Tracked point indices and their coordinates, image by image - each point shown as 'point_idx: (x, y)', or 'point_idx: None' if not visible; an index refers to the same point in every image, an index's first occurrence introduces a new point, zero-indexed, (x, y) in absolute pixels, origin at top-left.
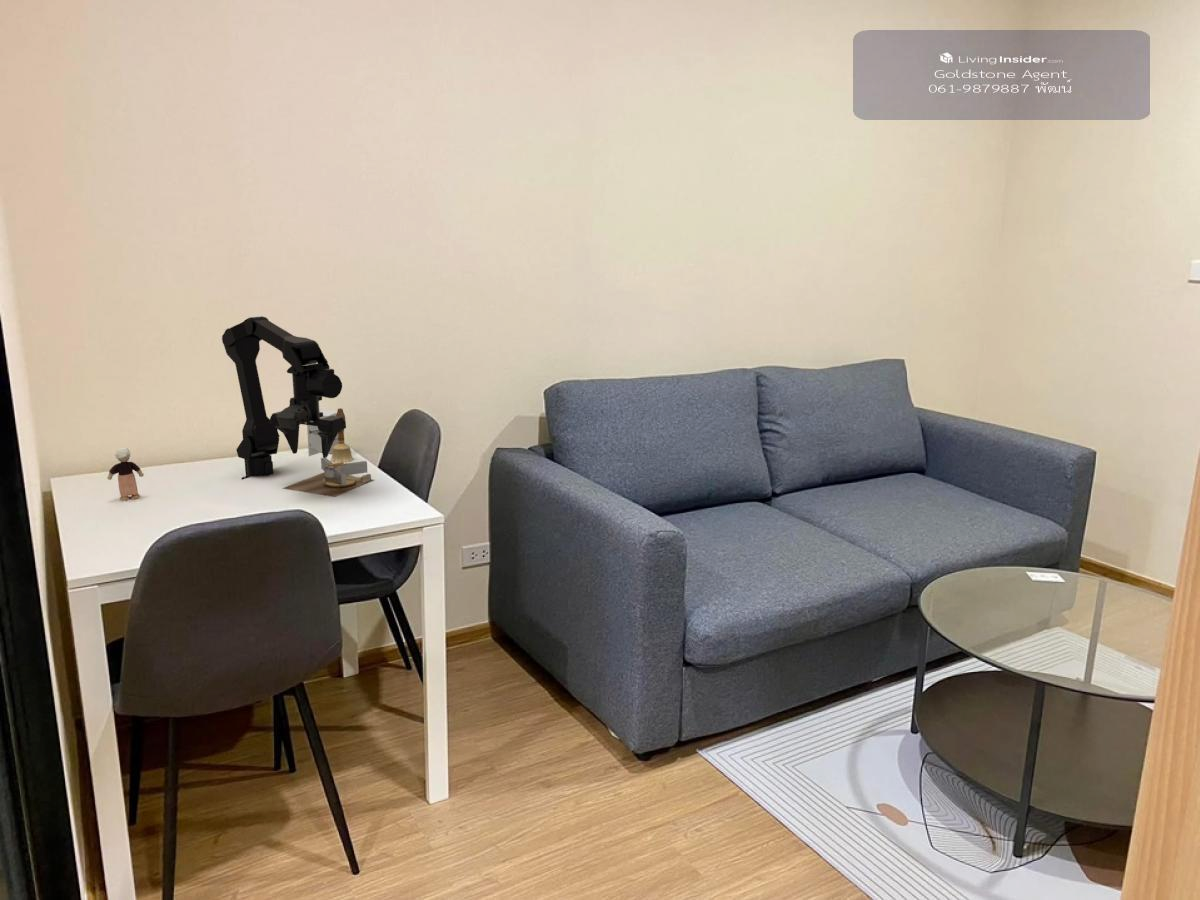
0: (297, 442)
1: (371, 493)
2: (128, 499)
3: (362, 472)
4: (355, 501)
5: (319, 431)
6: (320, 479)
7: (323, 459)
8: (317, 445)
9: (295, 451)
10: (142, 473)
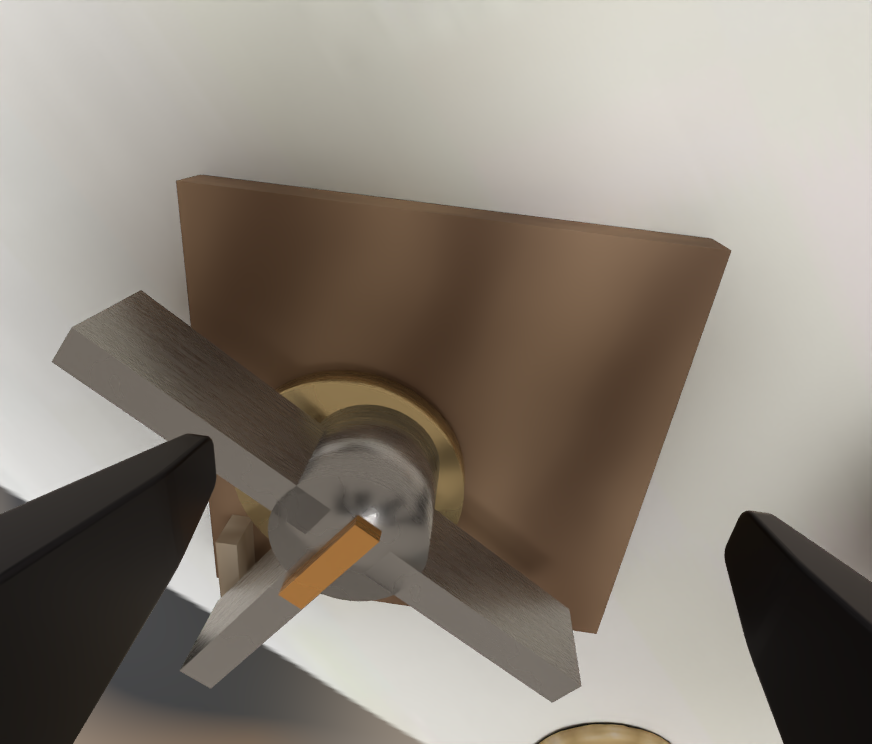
0: (788, 723)
1: (145, 430)
2: None
3: (232, 587)
4: (106, 255)
5: None
6: (540, 514)
7: (539, 662)
8: None
9: (743, 552)
10: None
